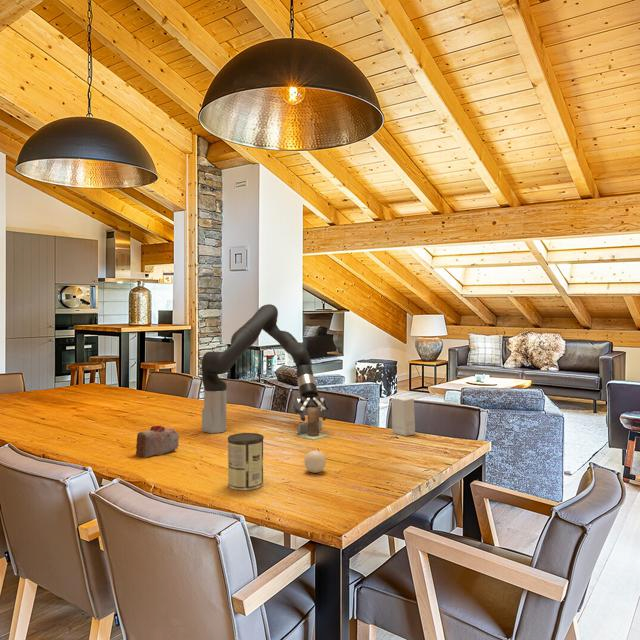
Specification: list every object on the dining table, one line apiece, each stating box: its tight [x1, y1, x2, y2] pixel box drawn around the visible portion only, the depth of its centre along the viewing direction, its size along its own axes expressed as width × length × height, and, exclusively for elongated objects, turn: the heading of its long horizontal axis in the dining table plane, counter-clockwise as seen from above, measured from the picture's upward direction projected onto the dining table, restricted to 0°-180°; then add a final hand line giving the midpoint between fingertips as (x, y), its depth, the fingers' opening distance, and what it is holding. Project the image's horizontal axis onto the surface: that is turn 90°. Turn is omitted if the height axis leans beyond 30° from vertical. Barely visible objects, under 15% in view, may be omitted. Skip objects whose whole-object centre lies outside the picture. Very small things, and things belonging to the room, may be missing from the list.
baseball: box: [303, 450, 327, 474], centre depth 171 cm, size 7×7×7 cm
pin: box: [307, 407, 320, 436], centre depth 220 cm, size 5×5×11 cm
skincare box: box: [391, 396, 416, 437], centre depth 225 cm, size 8×6×15 cm
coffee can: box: [227, 432, 264, 491], centre depth 157 cm, size 10×10×14 cm
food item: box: [135, 425, 180, 459], centre depth 192 cm, size 14×8×10 cm, turn 140°
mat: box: [296, 432, 331, 441], centre depth 220 cm, size 10×9×1 cm
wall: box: [297, 419, 323, 435], centre depth 227 cm, size 14×1×4 cm, turn 140°
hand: (314, 419), depth 218 cm, fingers open, 8 cm apart
